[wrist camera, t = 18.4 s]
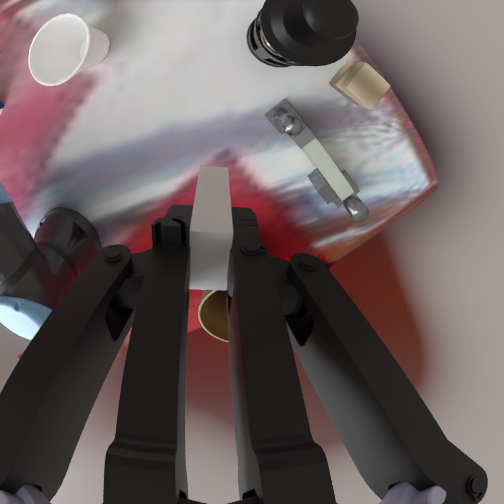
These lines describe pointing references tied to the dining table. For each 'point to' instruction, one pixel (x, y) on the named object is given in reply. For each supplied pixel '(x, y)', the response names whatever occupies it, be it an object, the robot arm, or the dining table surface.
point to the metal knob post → (328, 194)
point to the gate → (323, 162)
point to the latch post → (285, 119)
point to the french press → (303, 32)
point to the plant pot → (214, 313)
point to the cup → (65, 49)
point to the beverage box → (1, 107)
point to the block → (360, 84)
